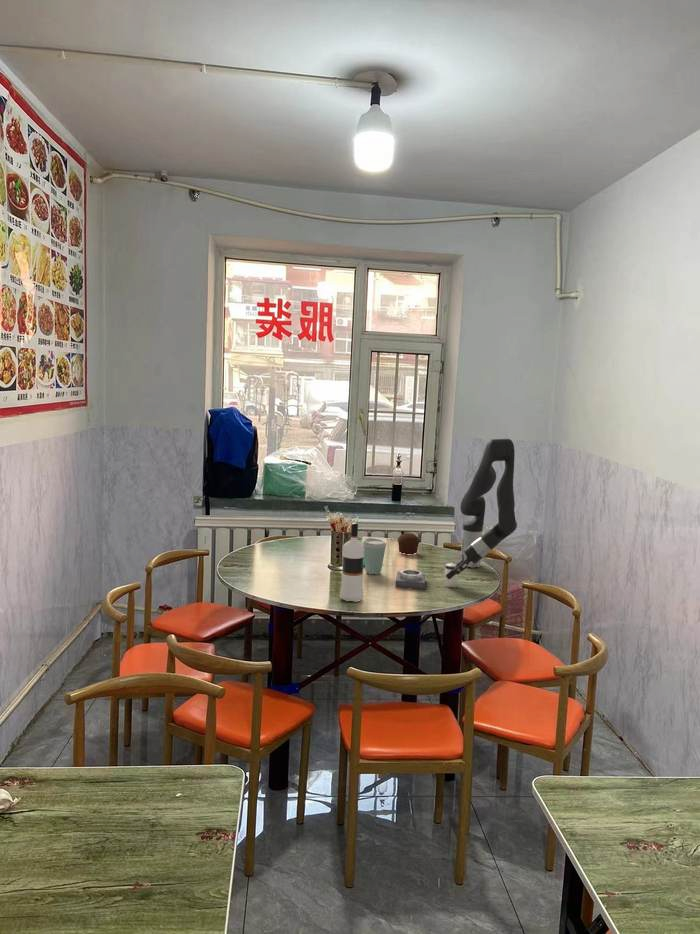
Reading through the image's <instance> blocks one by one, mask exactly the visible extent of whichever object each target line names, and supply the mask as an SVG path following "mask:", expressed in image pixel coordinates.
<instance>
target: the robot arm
mask: <svg viewBox="0 0 700 934" xmlns="http://www.w3.org/2000/svg"><path fill="white" fill-rule="evenodd" d="M515 452H516V451H515V444H514V442H513V441H512V439H511V438H494V439H490V440H488V441H487V443H486V444H485V448H484V450H483V455H482V457H481V461H480V463H479V465H478V467H477V470H476V472H475V474H474V476H473V478H472V480H471V483H470V485H469V488H468V489H467V491H466V492H465V494H464V495H463V497H462V499H461V502H460V506H459V507H460V513H461V514H462V515H464V516H467V517H473V518H472V519H471V520H468V521H466V522H464V523H463V524H462V535H461V536H462V537H461V547H460V548H461V552H460V556H459V557H458V558H456V560H455V561H454V562H452V563H453V564H456V565H455V568H454V569H453V570H451V571H450V572H449V573H448V574H447V575H446V577H447V578H448V579H451V578H452V577H453V576H454V575H455V574H457V575H458V576H459V575H460V574H461V573H462V572H463V571H465V570H466V569H467V568H468V567H471V568H470V569H476V568H475V567H478V568H480V567H481V560H482V559H484V557H486V556H487V555H488V554H489V553H490V552H491V551H492V550H493V549H495V548H496V547H497V546H498V545H499V544H500V543H501V542H503V540H504V539H506V538H507V537H509V536H510V535H512V534H513V533H514V532H515V531H516V530H517V527H518V523H517V519H516V513H515V507H516V506H515V504H516V503H515V492H514V491H515V489H514V478H515V477H514V474H515V454H516V453H515ZM501 461H502V462H504V471H503V474H502V476H501V478H500V480H499V482H498V485H497V487H496V502H497V510H498V513H497V514H498V522H497V523H496V524H495V525H494V526H493V527H492V528H490V529H488V530H487V531H486V532H484V533H483V527H484V522H485V513H486V500H485V499H486V498H485V497H483V496H484V495H485V494H487V493H488V492H490V491H491V490H492V488H493V487H494V484H495V483H496V480H497V473H496V471H495V469H494V467H493V463H494V462H501ZM458 565H459V566H458ZM473 567H474V568H473ZM457 569H458V570H457Z"/></svg>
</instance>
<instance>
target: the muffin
mask: <svg viewBox="0 0 700 934" xmlns="http://www.w3.org/2000/svg"><path fill="white" fill-rule="evenodd" d="M396 540H397V542H398V544H397V545H398V553H399V552H401V553H405V554H414V553H418V548H419V544H420V542H421V540H420V539H419V537H418V536H417V535H416V534H415V533H413V532H405V533H402V534H401V535H399V537H398V538H397V539H396Z"/></svg>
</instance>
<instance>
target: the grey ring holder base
mask: <svg viewBox="0 0 700 934" xmlns="http://www.w3.org/2000/svg"><path fill="white" fill-rule="evenodd" d="M425 584H426V573H423V572H422V571H420V570H416V569H410V568H408V569H402V570H400V571H397V573H396V578H395V585H394V586H395V587H401V589H408V588H412V589H411V590H420V589H422V590H424V591H425V588H426V587H425V586H426V585H425Z"/></svg>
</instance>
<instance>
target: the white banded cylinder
mask: <svg viewBox="0 0 700 934" xmlns="http://www.w3.org/2000/svg"><path fill="white" fill-rule="evenodd" d="M453 563H454V562H452V563H451V562H450V563H445V566H444V567H445V569H444V584H443V585H445V586H444V587H446V588H450V587H455V588H457V587H458V581H459V574H458V575H457V574H455V575H454V576H453V577H452V578H451V579H448V578H447V577H446V575H447V574H448V573H449V572H450V571H451V570H453V569H454V568H455V565H456V564H453ZM458 566H459V565H458ZM457 570H459V569H457Z"/></svg>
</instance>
